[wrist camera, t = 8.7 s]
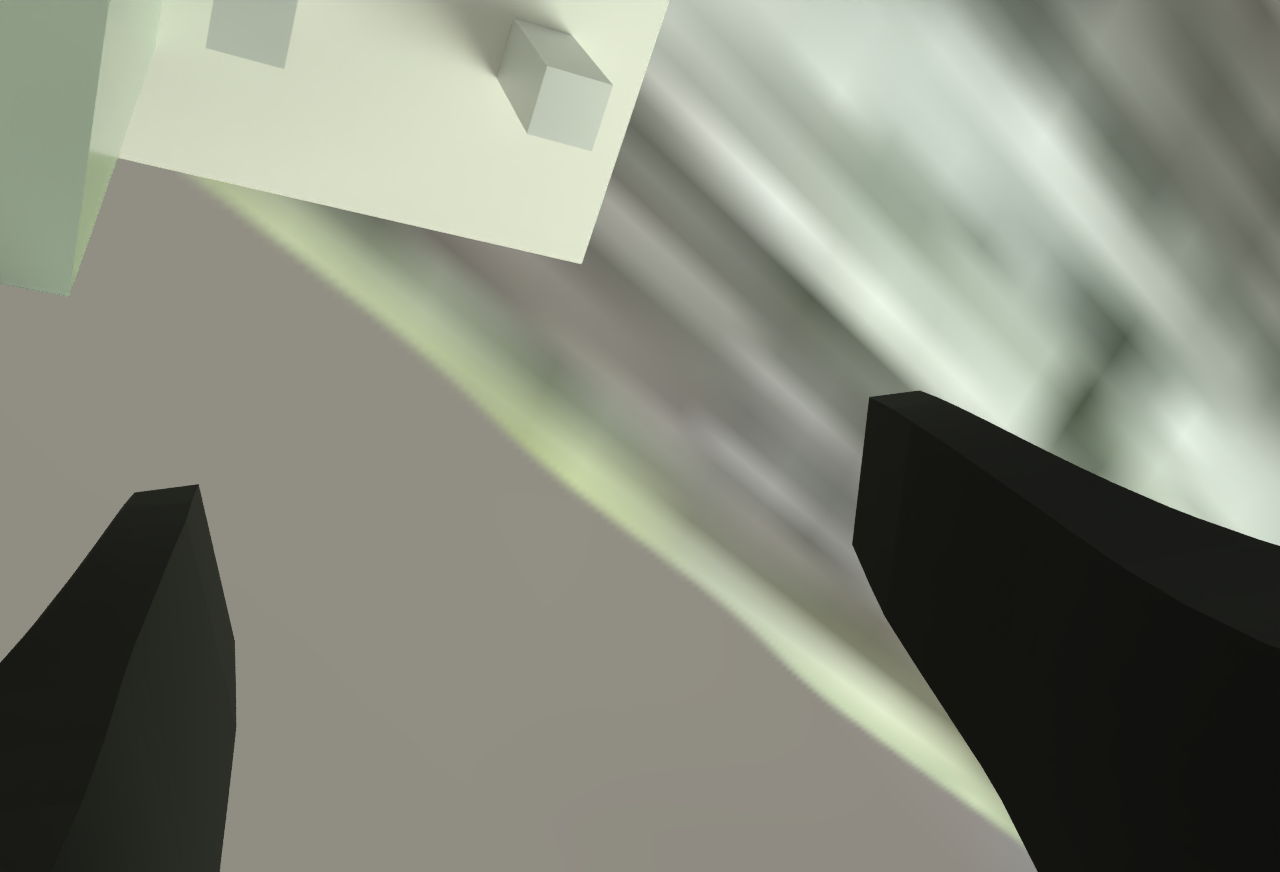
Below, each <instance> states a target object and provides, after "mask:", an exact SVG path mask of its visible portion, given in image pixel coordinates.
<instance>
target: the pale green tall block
mask: <svg viewBox="0 0 1280 872" xmlns="http://www.w3.org/2000/svg"><path fill="white" fill-rule="evenodd" d="M162 3H163V0H0V284H4V285H9V286H15V287H20V288H25V289H31V290H36V291H41V292H47V293H52V294H57V295H63V296H68V297H69V296H70V293H71V290H72V287H73V284H74V281H75V279H76V276H77V273H78V270H79V267H80V264H81V262H82V259H83V255H84V253H85V250H86V247H87V244H88V241H89V239H90V236H91V232H92V230H93V227H94V224H95V221H96V218H97V216H98V212H99V210H100V207H101V204H102V201H103V198H104V195H105V193H106V189H107V187H108V184H109V181H110V178H111V175H112V172H113V170H114V167H115V164H116V161H117V158H118V155H119V152H120V149H121V147H122V144H123V141H124V138H125V135H126V132H127V129H128V126H129V124H130V121H131V118H132V115H133V112H134V109H135V106H136V103H137V101H138V98H139V95H140V92H141V89H142V86H143V83H144V80H145V78H146V75H147V72H148V69H149V66H150V63H151V60H152V57H153V55H154V52H155V48H156V42H157V35H158V29H159V22H160V16H161V9H162Z"/></svg>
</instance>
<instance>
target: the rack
mask: <svg viewBox="0 0 1280 872" xmlns="http://www.w3.org/2000/svg"><path fill="white" fill-rule="evenodd" d="M668 3H669V0H163V3H162V9H161V16H160V22H159V29H158V35H157V42H156V48H155V52H154V55H153V57H152V60H151V63H150V66H149V69H148V72H147V75H146V78H145V80H144V83H143V86H142V89H141V92H140V95H139V98H138V101H137V103H136V106H135V109H134V112H133V115H132V118H131V121H130V124H129V126H128V129H127V132H126V135H125V138H124V141H123V144H122V147H121V149H120V152H119V155H118V158H122V159H126V160H130V161H135V162H139V163H143V164H148V165H152V166H156V167H161V168H165V169H169V170H174V171H178V172H183V173H187V174H191V175H196V176H200V177H204V178H209V179H213V180H217V181H222V182H226V183H230V184H235V185H239V186H244V187H248V188H252V189H257V190H261V191H265V192H270V193H274V194H278V195H283V196H287V197H291V198H296V199H300V200H305V201H309V202H313V203H318V204H322V205H326V206H331V207H335V208H339V209H344V210H348V211H353V212H357V213H361V214H366V215H370V216H374V217H379V218H383V219H387V220H392V221H396V222H400V223H405V224H409V225H414V226H418V227H422V228H427V229H431V230H435V231H440V232H444V233H448V234H453V235H457V236H461V237H466V238H470V239H475V240H479V241H483V242H488V243H492V244H496V245H501V246H505V247H509V248H514V249H518V250H522V251H527V252H531V253H536V254H540V255H544V256H549V257H553V258H557V259H562V260H566V261H570V262H575V263H579V264H582V261H583V258H584V255H585V252H586V249H587V246H588V243H589V240H590V237H591V234H592V231H593V228H594V225H595V222H596V219H597V216H598V213H599V210H600V207H601V204H602V201H603V198H604V195H605V192H606V189H607V186H608V183H609V180H610V177H611V174H612V171H613V168H614V165H615V162H616V159H617V156H618V153H619V150H620V147H621V144H622V141H623V138H624V135H625V132H626V129H627V126H628V123H629V120H630V117H631V114H632V111H633V108H634V105H635V102H636V99H637V96H638V93H639V90H640V87H641V84H642V81H643V78H644V75H645V72H646V69H647V66H648V63H649V60H650V57H651V54H652V51H653V48H654V45H655V42H656V39H657V36H658V33H659V30H660V27H661V24H662V21H663V18H664V15H665V12H666V9H667V6H668Z"/></svg>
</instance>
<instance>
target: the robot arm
mask: <svg viewBox="0 0 1280 872" xmlns="http://www.w3.org/2000/svg"><path fill="white" fill-rule="evenodd" d="M852 545H853V547H854V549H855V552H856V554H857V556H858V559H859V561H860V563H861V566H862V568H863V570H864V573H865V575H866V577H867V579H868V582H869V584H870V586H871V588H872V590H873V593H874V595H875V597H876V599H877V601H878V603H879V605H880V607H881V609H882V611H883V614H884V616H885V617H886V619H887V621H888V622H889V624H890V625H891V627H892V629H893V630H894V632H895V634H896V635H897V637H898V638H899V640H900V641H901V643H902V645H903V646H904V648H905V649H906V651H907V652H908V654H909V655H910V657H911V659H912V660H913V662H914V663H915V665H916V666H917V668H918V670H919V671H920V673H921V674H922V676H923V677H924V679H925V680H926V682H927V683H928V685H929V686H930V688H931V689H932V691H933V693H934V694H935V696H936V697H937V699H938V700H939V702H940V703H941V705H942V706H943V708H944V709H945V711H946V712H947V714H948V716H949V717H950V719H951V720H952V722H953V723H954V725H955V726H956V728H957V729H958V731H959V732H960V734H961V735H962V737H963V738H964V740H965V742H966V743H967V745H968V746H969V748H970V749H971V751H972V752H973V754H974V755H975V757H976V758H977V760H978V761H979V763H980V765H981V766H982V768H983V769H984V771H985V773H986V775H987V776H988V778H989V780H990V781H991V783H992V785H993V786H994V788H995V790H996V792H997V793H998V795H999V797H1000V798H1001V800H1002V802H1003V804H1004V806H1005V808H1006V810H1007V812H1008V814H1009V816H1010V818H1011V820H1012V822H1013V824H1014V826H1015V828H1016V830H1017V832H1018V834H1019V836H1020V838H1021V840H1022V842H1023V844H1024V846H1025V848H1026V850H1027V852H1028V854H1029V856H1030V858H1031V860H1032V861H1033V863H1034V865H1035V867H1036V869H1037V871H1038V872H1280V546H1278V545H1275V544H1271V543H1268V542H1265V541H1262V540H1259V539H1256V538H1253V537H1250V536H1247V535H1244V534H1241V533H1239V532H1236V531H1233V530H1230V529H1227V528H1224V527H1222V526H1219V525H1216V524H1213V523H1210V522H1207V521H1205V520H1202V519H1199V518H1196V517H1193V516H1191V515H1188V514H1186V513H1183V512H1181V511H1178V510H1176V509H1173V508H1170V507H1168V506H1166V505H1163V504H1161V503H1158V502H1156V501H1154V500H1152V499H1149V498H1147V497H1145V496H1142V495H1140V494H1138V493H1135V492H1133V491H1131V490H1128V489H1126V488H1124V487H1122V486H1119V485H1117V484H1115V483H1112V482H1110V481H1108V480H1106V479H1104V478H1102V477H1099V476H1097V475H1095V474H1093V473H1091V472H1089V471H1087V470H1084V469H1082V468H1080V467H1078V466H1076V465H1074V464H1072V463H1070V462H1068V461H1066V460H1064V459H1062V458H1060V457H1058V456H1056V455H1053V454H1051V453H1049V452H1047V451H1045V450H1043V449H1041V448H1039V447H1037V446H1035V445H1033V444H1031V443H1029V442H1027V441H1025V440H1023V439H1021V438H1019V437H1017V436H1015V435H1014V434H1012V433H1010V432H1008V431H1006V430H1004V429H1002V428H1000V427H998V426H996V425H994V424H992V423H990V422H988V421H986V420H984V419H982V418H980V417H978V416H976V415H974V414H972V413H970V412H968V411H966V410H963V409H961V408H959V407H957V406H955V405H953V404H951V403H949V402H947V401H944V400H942V399H940V398H937V397H935V396H932V395H930V394H927V393H925V392H922V391H913V392H905V393H897V394H890V395H882V396H874V397H869V404H868V413H867V422H866V430H865V439H864V448H863V456H862V465H861V473H860V482H859V491H858V499H857V508H856V517H855V525H854V534H853V542H852ZM235 676H236V675H235V640H234V636H233V632H232V627H231V623H230V619H229V614H228V610H227V606H226V601H225V597H224V593H223V588H222V584H221V580H220V576H219V571H218V567H217V562H216V558H215V554H214V550H213V545H212V541H211V536H210V532H209V528H208V523H207V519H206V515H205V510H204V506H203V502H202V497H201V493H200V489H199V485H198V484H197V485H190V486H183V487H174V488H167V489H159V490H151V491H144V492H136V493H134V494H133V495H132V496H131V497H130V499H129V500H128V501H127V502H126V503H125V504H124V506H123V507H122V508H121V510H120V511H119V513H118V514H117V515H116V517H115V518H114V519H113V521H112V522H111V524H110V525H109V526H108V528H107V529H106V530H105V532H104V533H103V535H102V536H101V537H100V539H99V540H98V542H97V543H96V544H95V546H94V547H93V548H92V550H91V551H90V552H89V554H88V555H87V556H86V558H85V559H84V560H83V562H82V563H81V564H80V566H79V567H78V569H77V570H76V571H75V573H74V574H73V575H72V577H71V578H70V579H69V580H68V582H67V583H66V584H65V585H64V587H63V588H62V589H61V591H60V592H59V593H58V594H57V596H56V597H55V598H54V599H53V601H52V602H51V603H50V605H49V606H48V607H47V608H46V609H45V611H44V612H43V613H42V615H41V616H40V617H39V619H38V620H37V621H36V622H35V623H34V625H33V626H32V627H31V628H30V629H29V631H28V632H27V633H26V634H25V636H24V637H23V638H22V639H21V640H20V641H19V642H18V643H17V644H16V646H15V647H14V648H13V649H12V650H11V651H10V652H9V653H8V655H7V656H6V657H5V658H4V659H3V660H2V661H1V663H0V872H220V863H221V855H222V846H223V838H224V830H225V821H226V812H227V803H228V796H229V787H230V778H231V770H232V761H233V752H234V743H235V733H236V677H235Z"/></svg>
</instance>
